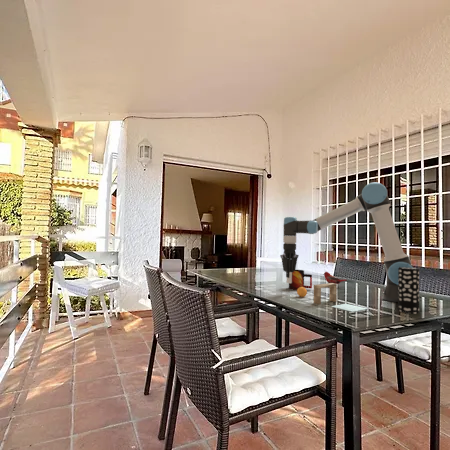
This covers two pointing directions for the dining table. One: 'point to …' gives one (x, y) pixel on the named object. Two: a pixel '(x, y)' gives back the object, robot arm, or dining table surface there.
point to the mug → (299, 280)
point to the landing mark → (349, 307)
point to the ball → (301, 291)
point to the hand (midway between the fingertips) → (289, 283)
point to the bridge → (331, 294)
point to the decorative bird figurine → (332, 278)
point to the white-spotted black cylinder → (408, 290)
